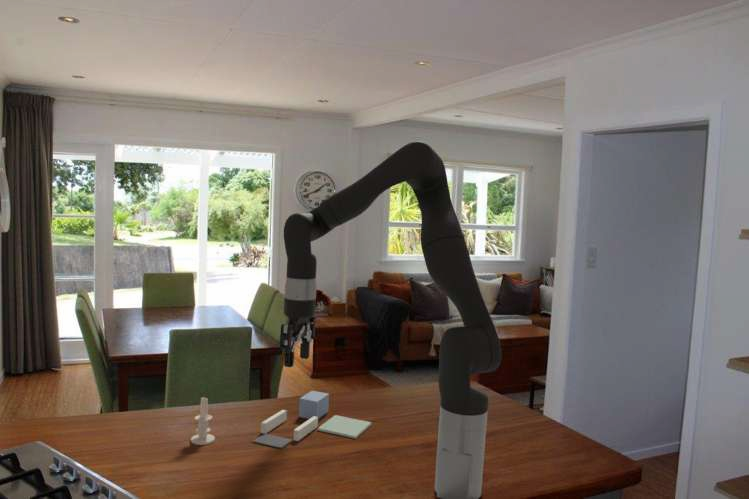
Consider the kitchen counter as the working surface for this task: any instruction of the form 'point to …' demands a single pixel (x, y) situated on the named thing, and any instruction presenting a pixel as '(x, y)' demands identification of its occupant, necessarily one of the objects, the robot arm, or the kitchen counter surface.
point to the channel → (280, 441)
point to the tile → (344, 426)
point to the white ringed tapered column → (203, 425)
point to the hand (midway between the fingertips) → (296, 362)
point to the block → (313, 404)
